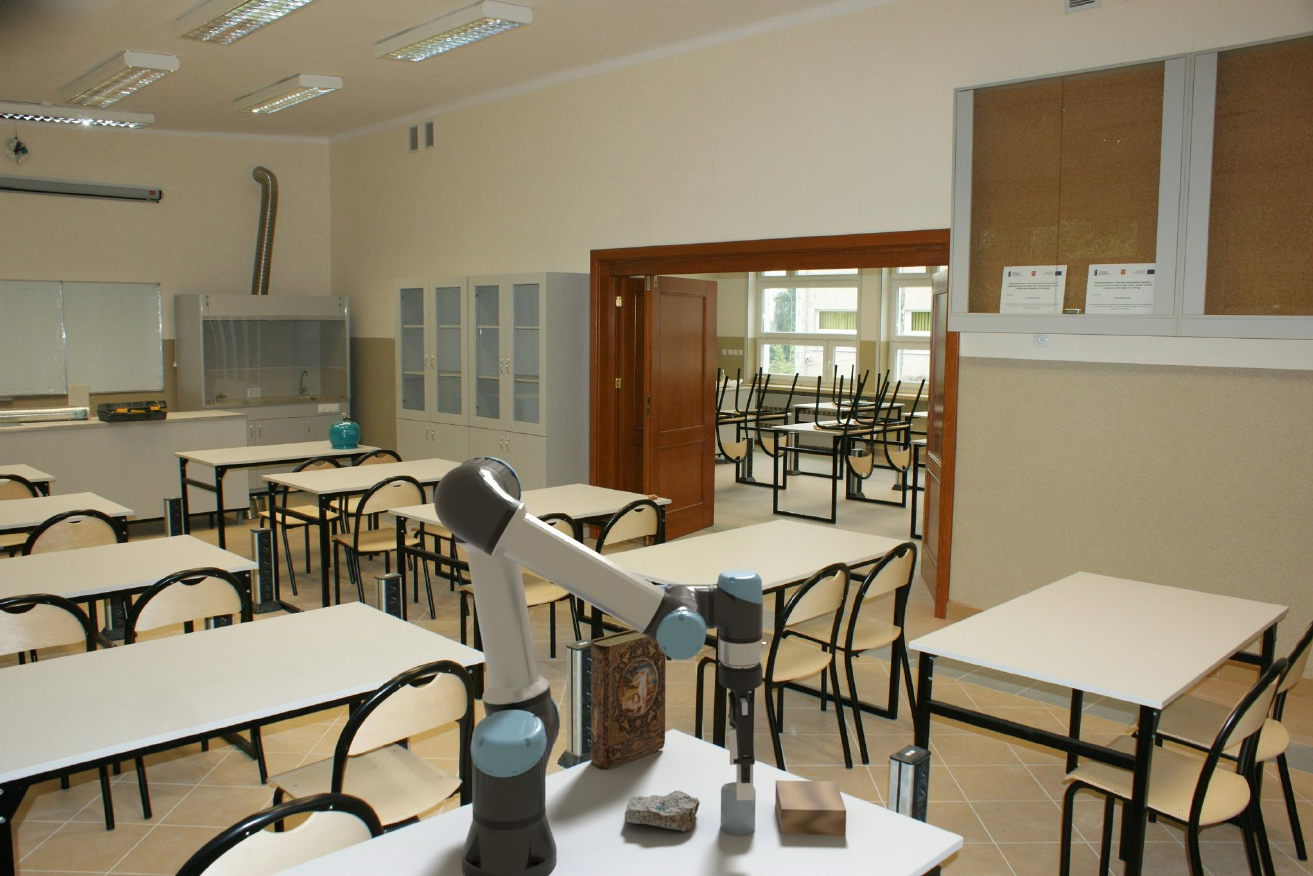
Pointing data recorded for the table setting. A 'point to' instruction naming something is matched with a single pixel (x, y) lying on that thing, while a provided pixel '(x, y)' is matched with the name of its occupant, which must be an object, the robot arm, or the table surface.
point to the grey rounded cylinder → (736, 812)
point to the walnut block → (810, 808)
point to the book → (626, 698)
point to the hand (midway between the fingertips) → (741, 781)
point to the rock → (663, 810)
